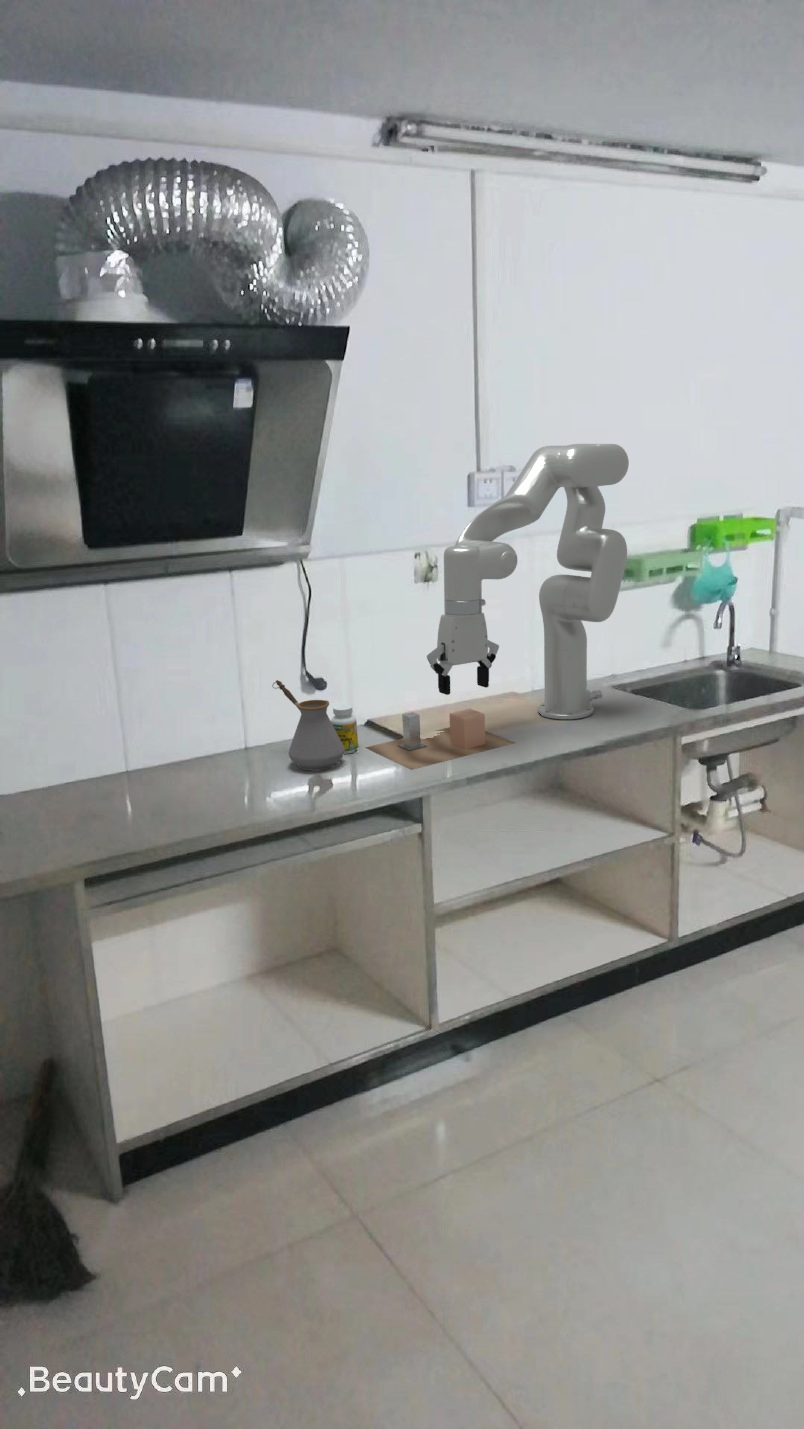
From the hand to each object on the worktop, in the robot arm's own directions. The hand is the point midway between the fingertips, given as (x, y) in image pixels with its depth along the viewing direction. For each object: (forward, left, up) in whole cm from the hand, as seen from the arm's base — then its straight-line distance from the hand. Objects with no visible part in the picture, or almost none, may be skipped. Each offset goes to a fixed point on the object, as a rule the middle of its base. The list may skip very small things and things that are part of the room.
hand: (464, 689), depth 217 cm
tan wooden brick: (-1, 0, -12) cm, 12 cm away
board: (+4, -3, -13) cm, 14 cm away
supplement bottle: (+20, -15, -13) cm, 28 cm away
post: (+9, -6, -13) cm, 17 cm away
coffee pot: (+29, -16, -13) cm, 36 cm away
